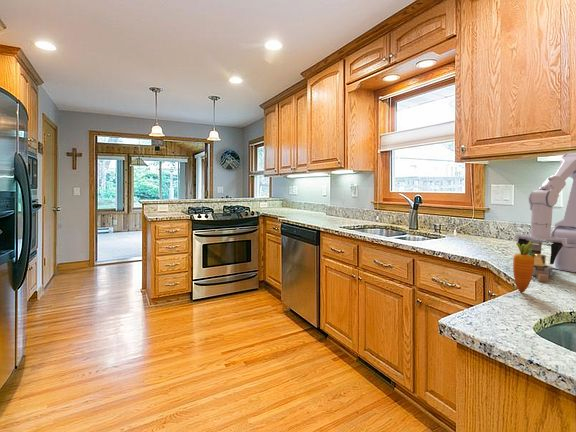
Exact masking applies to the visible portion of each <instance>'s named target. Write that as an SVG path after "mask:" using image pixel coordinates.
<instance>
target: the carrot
mask: <svg viewBox="0 0 576 432" xmlns="http://www.w3.org/2000/svg"><path fill="white" fill-rule="evenodd" d="M515 244H516V246H517V248H518V250H519V252H520V253H515V255H513V259H512V260H513V265H512V269H513V270H512V271H513V277H514V278H513V279H514V282H515V285H516V287H517V289H518V291H519V292H520V293H521V294H523V293H524V292H525V291H526V290H527V288H528V287H529V285H530V284H531V280H532V277H533V276H532V274H533V268H534V258H533V257H532V256H531V255H528V253H529V252H531V251H532V249H529V248H530V247H531V245H532V243H530V242H529V243H528V244H526V245H525V244H522V245H521V246H520V244H519V243H518V242H515ZM528 249H529V250H528Z"/></svg>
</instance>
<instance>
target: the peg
mask: <svg viewBox="0 0 576 432" xmlns="http://www.w3.org/2000/svg"><path fill="white" fill-rule="evenodd" d="M532 257H533V258H534V267H541V268H545V265H546V258H547V255H546V254H542V253H541V254H532Z"/></svg>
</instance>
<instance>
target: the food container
mask: <svg viewBox="0 0 576 432" xmlns="http://www.w3.org/2000/svg"><path fill="white" fill-rule="evenodd" d="M529 242H530V243H532V245H531V247H530V248H529V249H532V251H531V252H529V253H528V255H531V256H532V254H542V243H543V242H538V241H529ZM529 249H528V250H529Z"/></svg>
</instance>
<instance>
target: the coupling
mask: <svg viewBox="0 0 576 432" xmlns="http://www.w3.org/2000/svg"><path fill="white" fill-rule="evenodd" d="M553 270H554V269H553V268H552V267H551V265H547V264H545V268H541V267H534V268H533V274H532V277H533V276H534V277H535V278H536V280H538V282H540V283H546V284H547V283H548V282H549V278H550V277H553Z"/></svg>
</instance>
